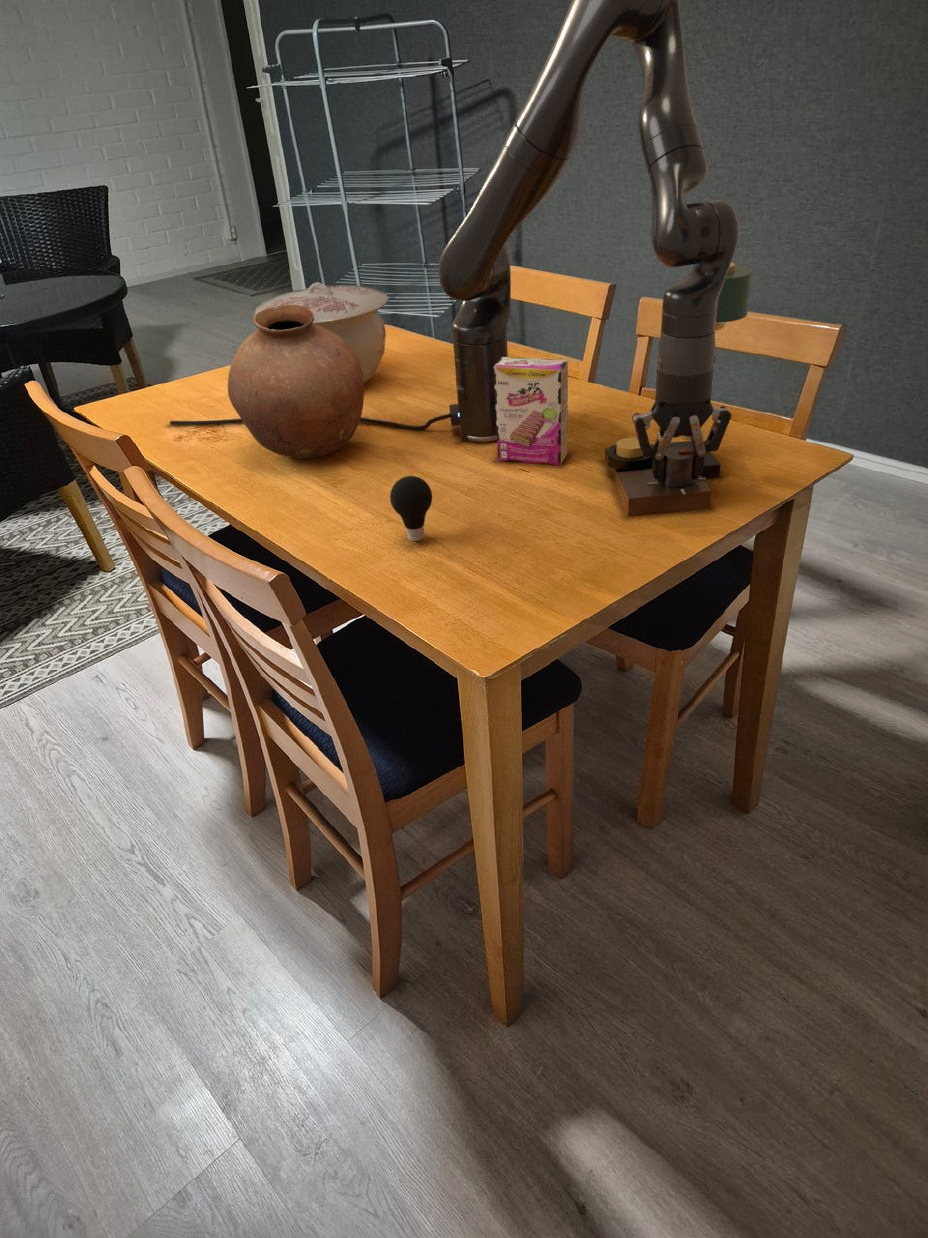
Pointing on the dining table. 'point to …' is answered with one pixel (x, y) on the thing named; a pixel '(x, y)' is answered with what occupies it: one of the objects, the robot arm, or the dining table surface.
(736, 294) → the desk lamp
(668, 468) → the dimmer knob
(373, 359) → the chamber pot
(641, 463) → the lamp base
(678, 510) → the dimmer panel
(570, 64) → the robot arm
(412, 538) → the light bulb
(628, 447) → the button
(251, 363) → the pottery
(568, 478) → the dining table surface
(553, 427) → the candy bar box
